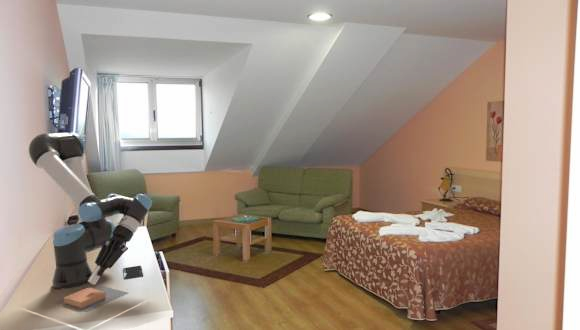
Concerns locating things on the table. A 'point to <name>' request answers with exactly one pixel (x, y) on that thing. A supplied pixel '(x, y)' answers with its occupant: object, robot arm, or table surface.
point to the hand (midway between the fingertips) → (91, 282)
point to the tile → (84, 297)
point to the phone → (133, 272)
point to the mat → (110, 296)
